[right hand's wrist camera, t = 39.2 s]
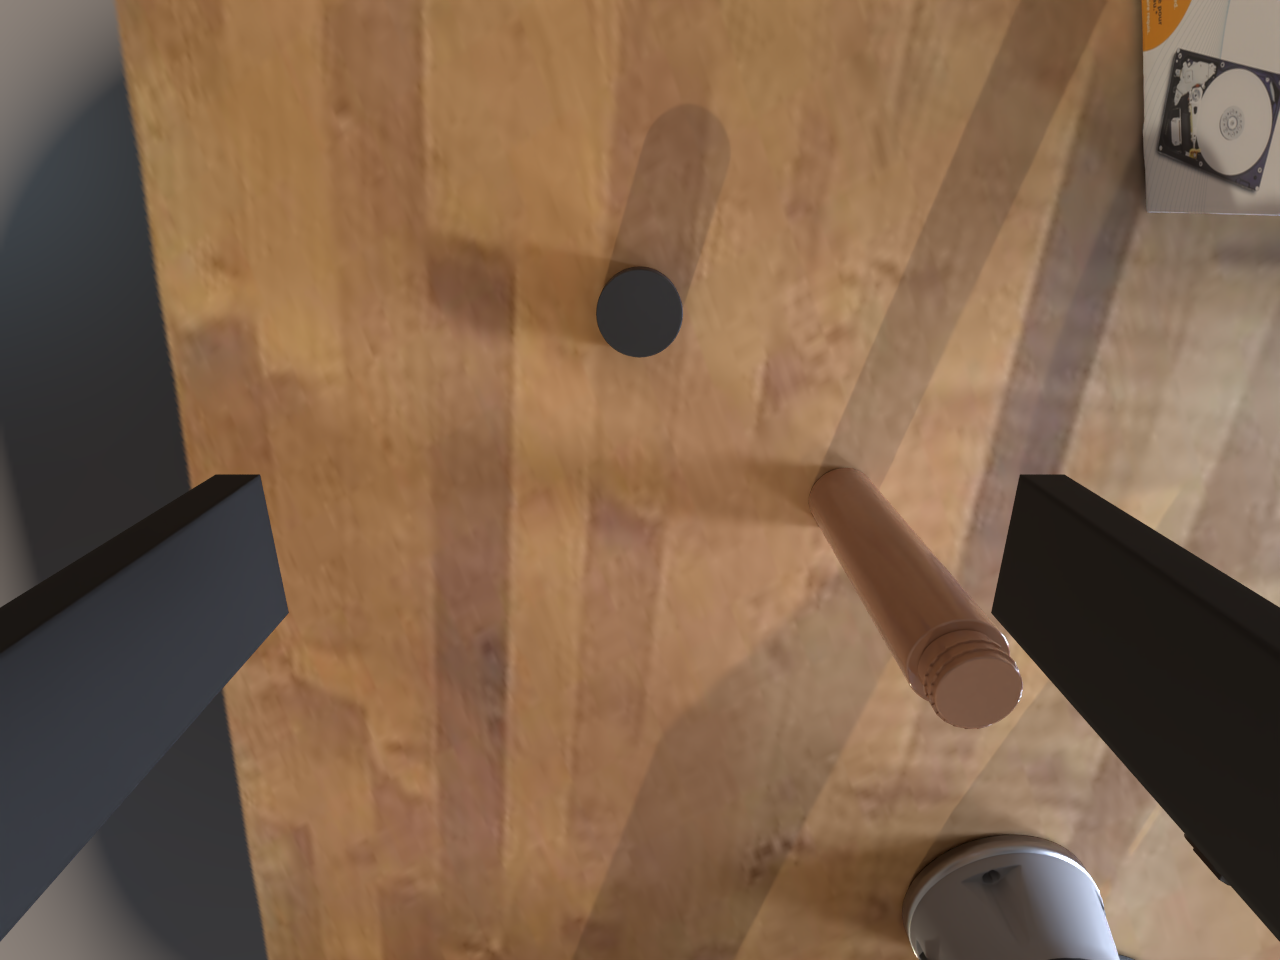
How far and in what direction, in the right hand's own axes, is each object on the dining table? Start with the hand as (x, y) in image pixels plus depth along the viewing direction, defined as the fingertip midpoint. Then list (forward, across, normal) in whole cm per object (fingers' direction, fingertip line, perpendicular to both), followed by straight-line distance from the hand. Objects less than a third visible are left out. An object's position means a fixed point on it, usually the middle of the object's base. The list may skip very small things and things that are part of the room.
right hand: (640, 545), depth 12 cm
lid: (+29, 0, 0) cm, 29 cm away
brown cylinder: (+30, +13, -12) cm, 35 cm away
